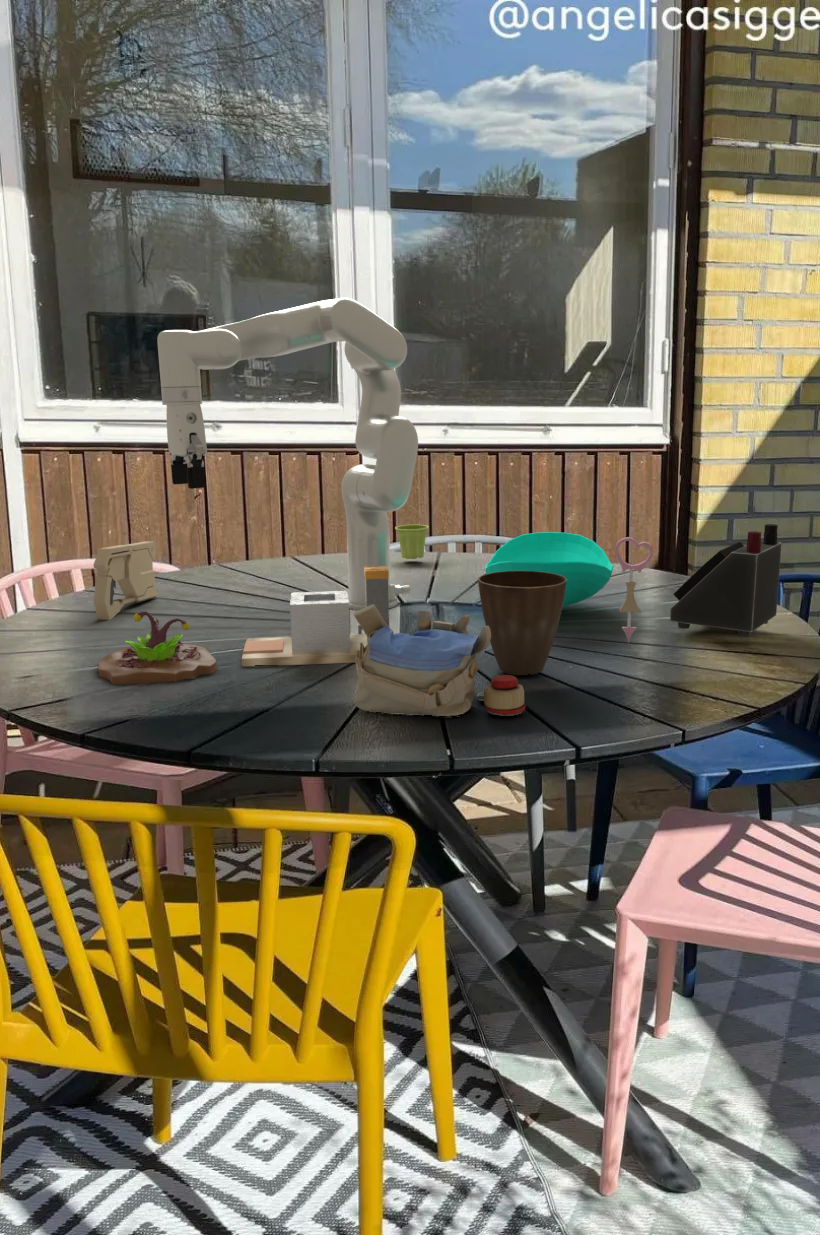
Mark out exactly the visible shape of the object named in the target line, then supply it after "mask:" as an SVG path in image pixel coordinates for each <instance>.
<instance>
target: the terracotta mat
mask: <svg viewBox="0 0 820 1235" xmlns="http://www.w3.org/2000/svg"><path fill="white" fill-rule="evenodd" d="M283 645H284V640H266V641H247V640H246V641H245V642H244V648H243V650H242V651H243V652H242V654H243V653H267V652H283Z"/></svg>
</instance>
